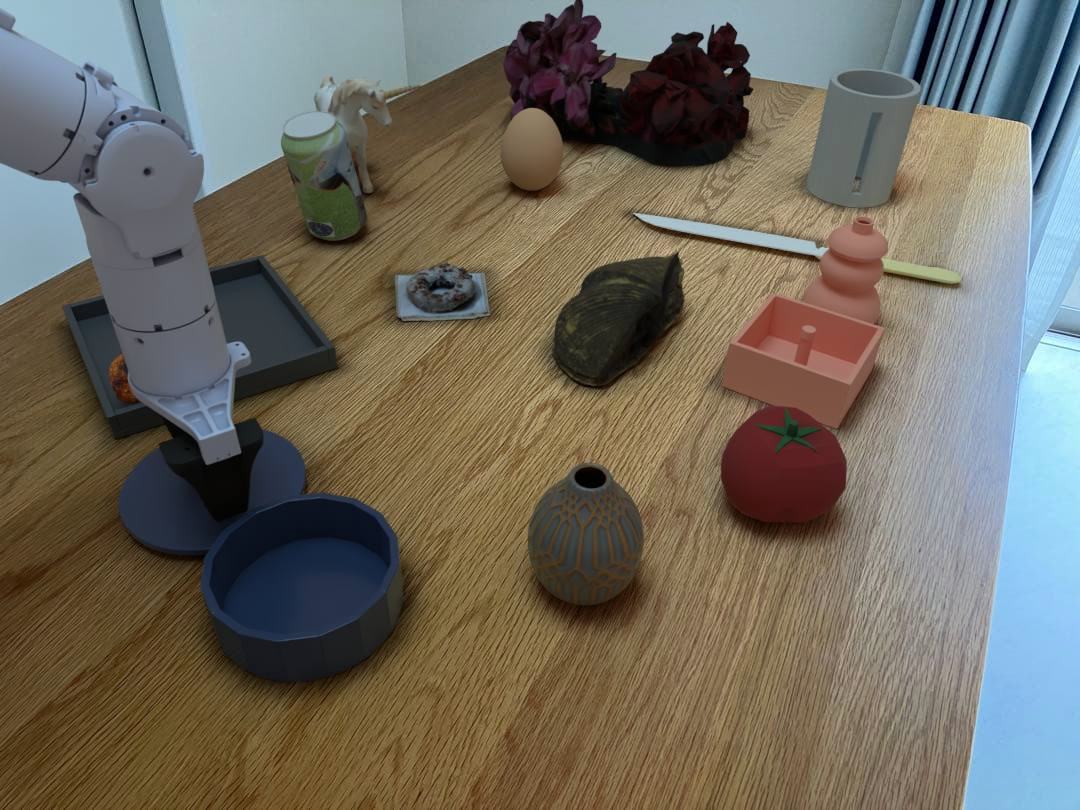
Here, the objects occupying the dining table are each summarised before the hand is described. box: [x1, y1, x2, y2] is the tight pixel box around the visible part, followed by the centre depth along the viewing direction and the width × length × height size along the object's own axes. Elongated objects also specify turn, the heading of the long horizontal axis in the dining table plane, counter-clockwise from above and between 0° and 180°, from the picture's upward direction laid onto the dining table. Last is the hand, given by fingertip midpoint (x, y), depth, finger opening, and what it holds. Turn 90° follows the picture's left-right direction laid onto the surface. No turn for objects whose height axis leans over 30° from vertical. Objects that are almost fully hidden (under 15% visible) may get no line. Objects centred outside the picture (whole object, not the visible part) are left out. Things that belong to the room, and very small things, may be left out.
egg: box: [500, 108, 564, 192], centre depth 96 cm, size 7×7×9 cm
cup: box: [805, 67, 922, 209], centre depth 97 cm, size 9×9×12 cm
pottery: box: [721, 215, 889, 430], centre depth 72 cm, size 18×10×10 cm, turn 147°
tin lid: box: [118, 428, 307, 556], centre depth 59 cm, size 12×12×5 cm
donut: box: [394, 261, 491, 322], centre depth 80 cm, size 8×8×2 cm
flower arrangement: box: [502, 0, 755, 168], centre depth 107 cm, size 31×20×15 cm, turn 76°
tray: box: [61, 254, 338, 440], centre depth 73 cm, size 17×17×2 cm
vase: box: [527, 462, 645, 606], centre depth 52 cm, size 7×7×9 cm
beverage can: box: [280, 110, 368, 242], centre depth 86 cm, size 6×7×12 cm
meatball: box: [109, 354, 141, 404], centre depth 66 cm, size 4×4×4 cm
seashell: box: [551, 251, 685, 387], centre depth 75 cm, size 16×9×7 cm, turn 149°
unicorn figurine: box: [313, 75, 423, 194], centre depth 94 cm, size 7×20×13 cm, turn 37°
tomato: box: [720, 405, 848, 524], centre depth 59 cm, size 8×8×7 cm
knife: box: [632, 212, 963, 285], centre depth 89 cm, size 1×33×5 cm
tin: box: [199, 492, 405, 683], centre depth 52 cm, size 11×11×4 cm
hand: (213, 478), depth 59 cm, fingers open, 7 cm apart
